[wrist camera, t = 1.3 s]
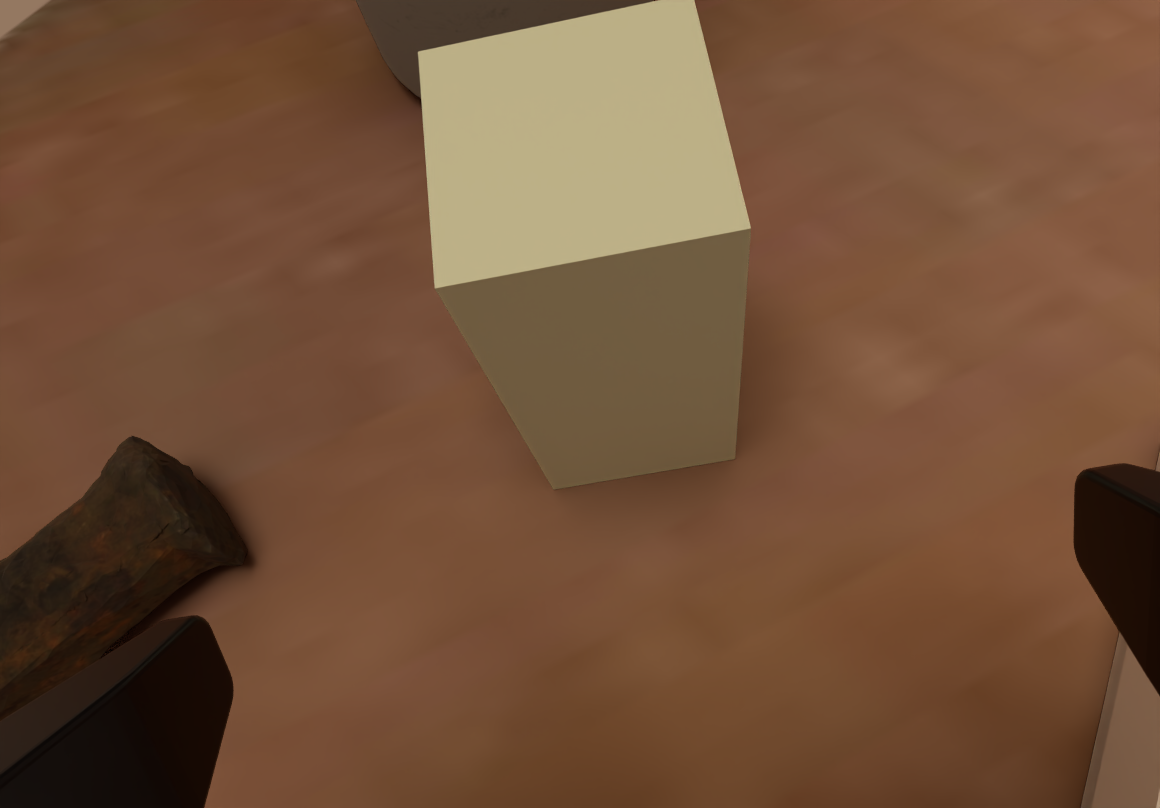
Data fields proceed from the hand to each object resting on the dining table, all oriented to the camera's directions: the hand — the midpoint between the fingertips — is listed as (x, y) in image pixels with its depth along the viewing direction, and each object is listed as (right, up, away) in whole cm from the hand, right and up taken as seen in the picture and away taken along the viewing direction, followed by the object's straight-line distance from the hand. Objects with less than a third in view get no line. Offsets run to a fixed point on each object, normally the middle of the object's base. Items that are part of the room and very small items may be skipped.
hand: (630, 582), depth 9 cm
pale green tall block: (+1, +2, +16) cm, 16 cm away
